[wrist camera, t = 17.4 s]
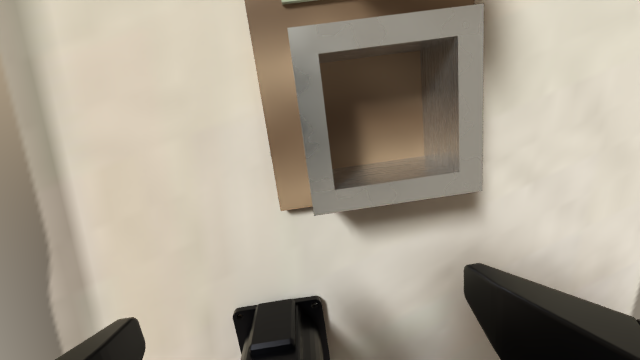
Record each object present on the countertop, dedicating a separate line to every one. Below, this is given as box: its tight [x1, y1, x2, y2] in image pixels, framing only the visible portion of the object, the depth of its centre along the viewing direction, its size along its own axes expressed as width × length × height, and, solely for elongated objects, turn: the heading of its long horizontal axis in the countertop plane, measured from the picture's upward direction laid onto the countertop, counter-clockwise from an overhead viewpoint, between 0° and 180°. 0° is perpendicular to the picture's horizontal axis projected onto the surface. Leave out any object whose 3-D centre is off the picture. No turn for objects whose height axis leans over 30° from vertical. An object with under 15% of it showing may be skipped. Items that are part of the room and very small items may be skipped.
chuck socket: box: [287, 4, 484, 216], centre depth 17 cm, size 9×9×4 cm
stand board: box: [245, 0, 474, 211], centre depth 18 cm, size 22×13×1 cm, turn 7°
